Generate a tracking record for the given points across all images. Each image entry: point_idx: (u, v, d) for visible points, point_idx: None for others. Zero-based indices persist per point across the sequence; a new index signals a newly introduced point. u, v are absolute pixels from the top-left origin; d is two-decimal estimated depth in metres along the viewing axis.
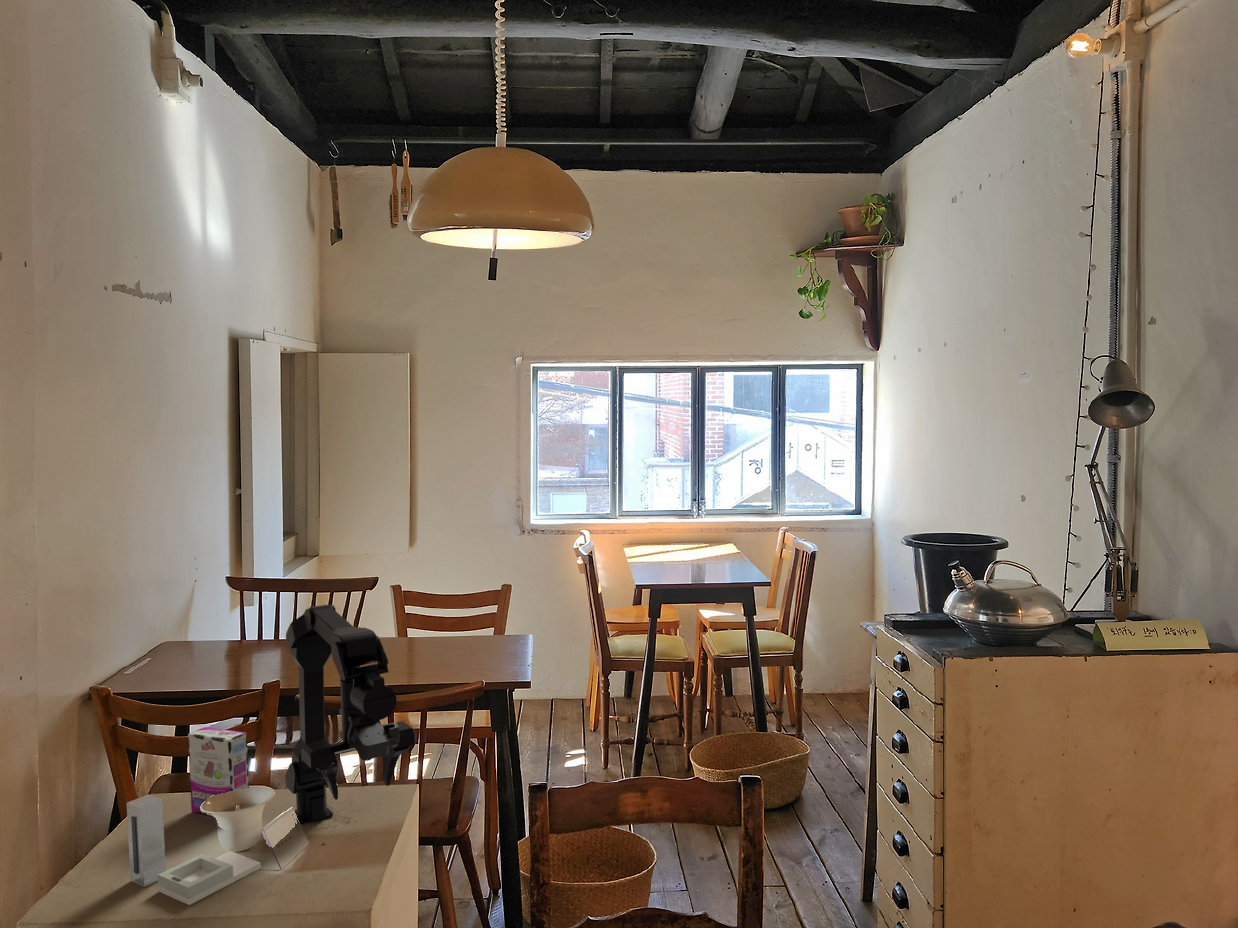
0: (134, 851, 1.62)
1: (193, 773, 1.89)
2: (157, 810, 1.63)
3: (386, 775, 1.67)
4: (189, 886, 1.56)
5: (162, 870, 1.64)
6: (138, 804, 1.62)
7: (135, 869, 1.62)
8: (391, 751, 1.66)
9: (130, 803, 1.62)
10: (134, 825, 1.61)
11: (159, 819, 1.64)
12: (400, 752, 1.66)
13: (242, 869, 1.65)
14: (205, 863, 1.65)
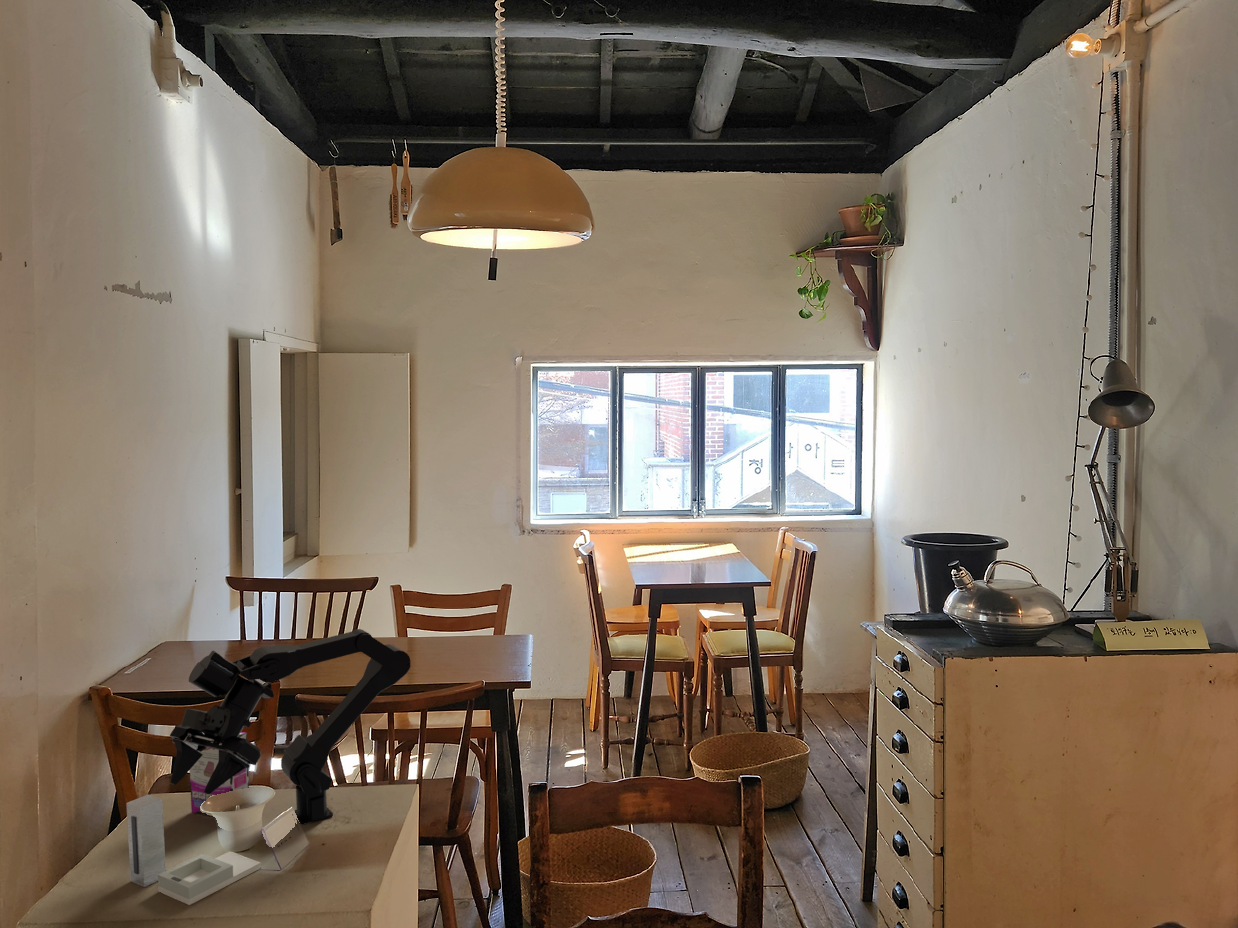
0: (134, 851, 1.62)
1: (193, 773, 1.89)
2: (157, 810, 1.63)
3: None
4: (189, 886, 1.56)
5: (162, 870, 1.64)
6: (137, 804, 1.62)
7: (135, 869, 1.62)
8: None
9: (130, 803, 1.62)
10: (134, 825, 1.61)
11: (158, 819, 1.64)
12: (223, 755, 1.68)
13: (242, 869, 1.65)
14: (205, 863, 1.65)
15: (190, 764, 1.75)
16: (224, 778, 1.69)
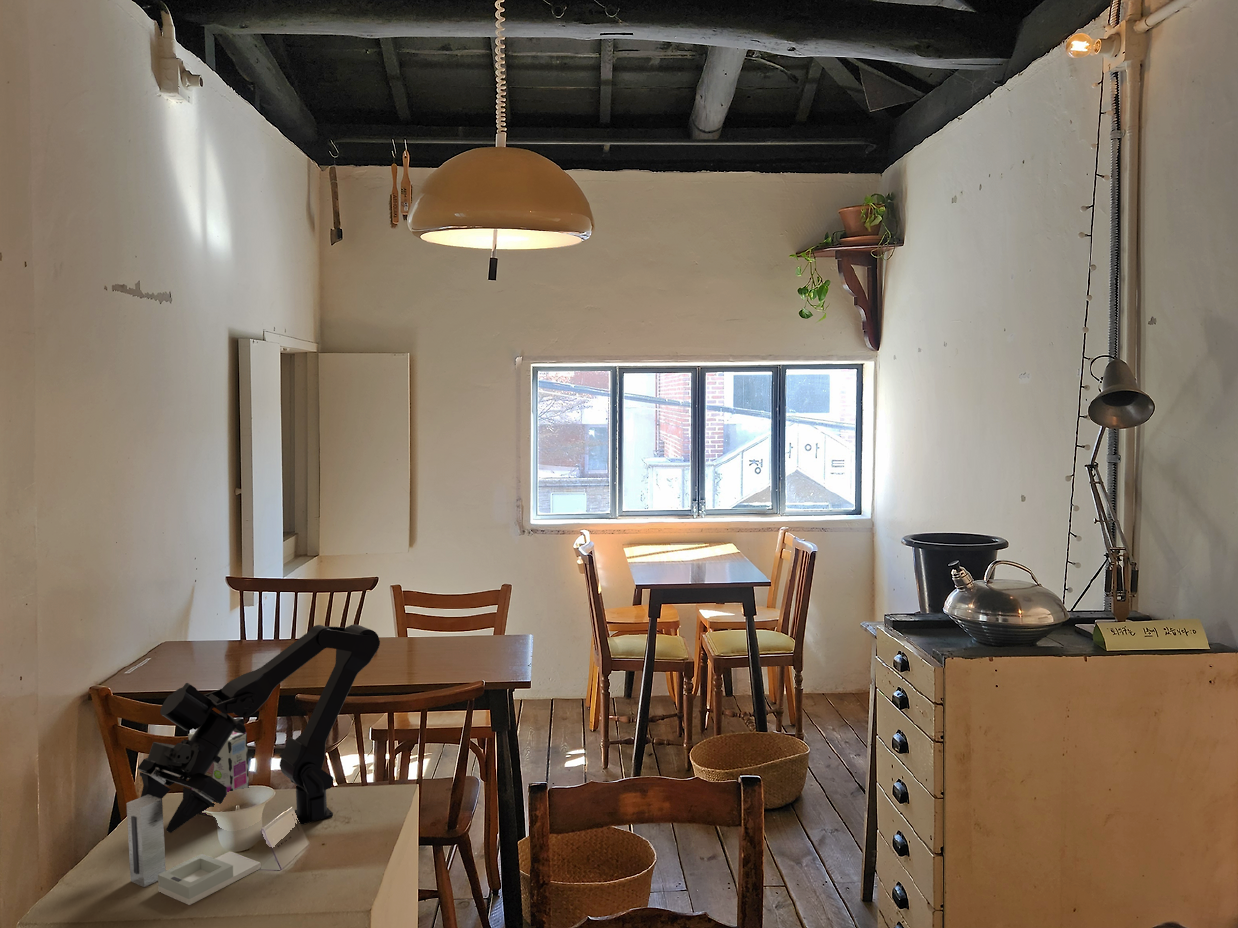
0: (134, 851, 1.62)
1: None
2: (157, 810, 1.63)
3: None
4: (189, 886, 1.56)
5: (162, 870, 1.64)
6: (137, 804, 1.62)
7: (135, 869, 1.62)
8: None
9: (130, 803, 1.62)
10: (134, 825, 1.61)
11: (158, 819, 1.64)
12: (187, 793, 1.63)
13: (242, 869, 1.65)
14: (205, 863, 1.65)
15: None
16: (188, 816, 1.64)
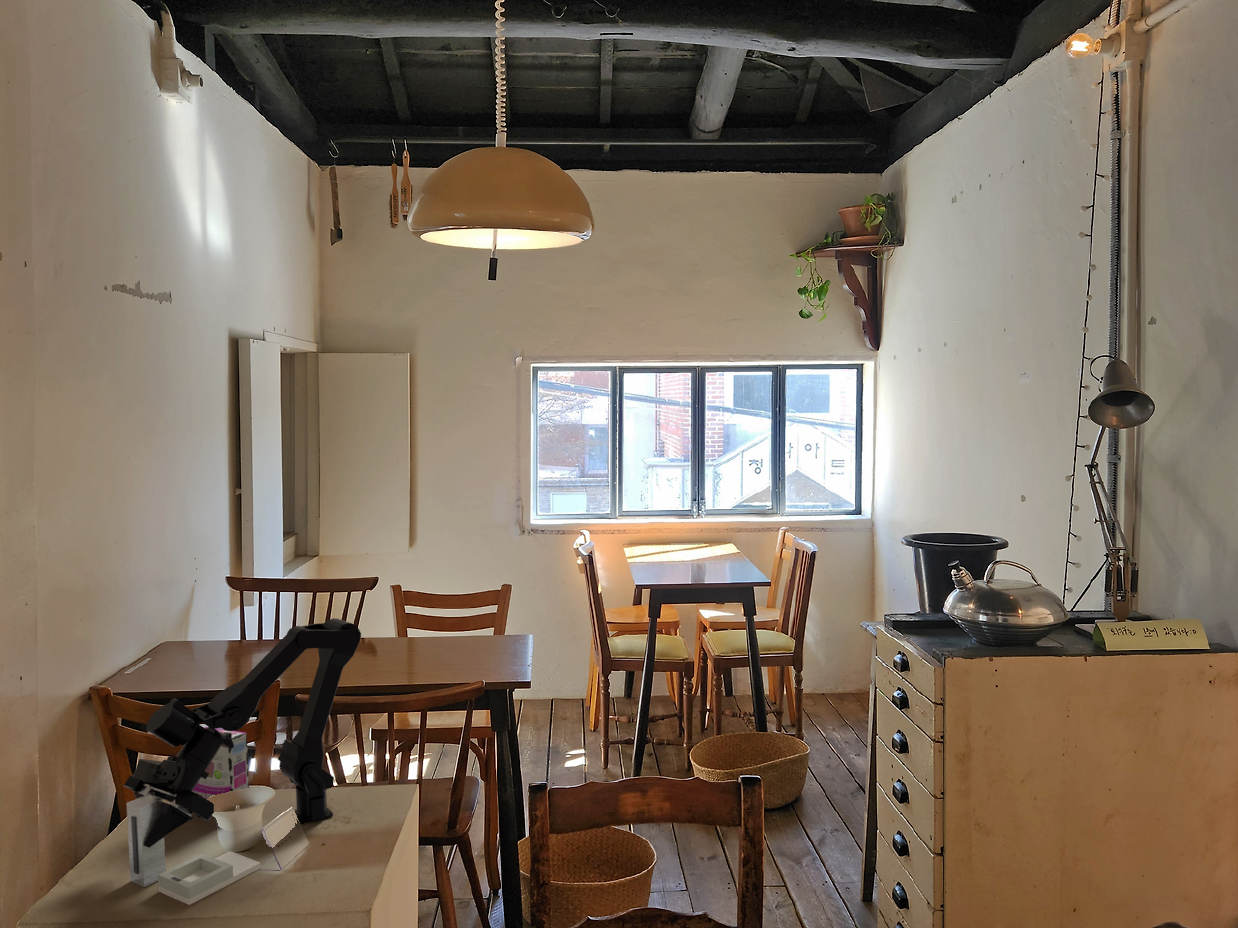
0: (134, 851, 1.62)
1: None
2: (157, 810, 1.63)
3: None
4: (189, 886, 1.56)
5: (162, 870, 1.64)
6: (137, 803, 1.62)
7: (135, 869, 1.62)
8: None
9: (130, 803, 1.62)
10: (134, 825, 1.61)
11: None
12: (165, 807, 1.62)
13: (242, 869, 1.65)
14: (205, 863, 1.65)
15: None
16: (166, 831, 1.63)
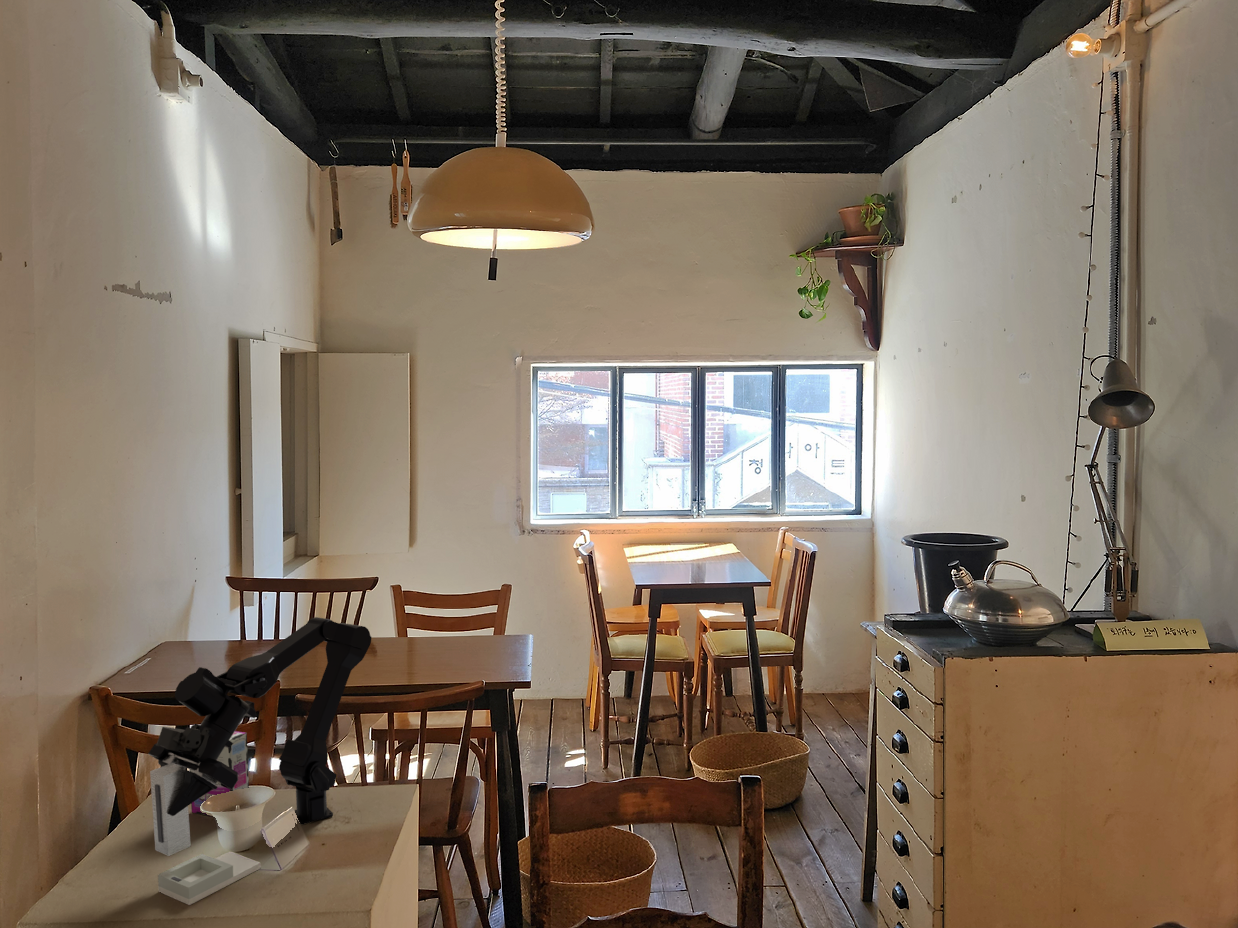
0: (158, 820, 1.60)
1: None
2: (180, 779, 1.61)
3: None
4: (189, 886, 1.56)
5: (186, 839, 1.63)
6: (161, 772, 1.60)
7: (159, 838, 1.61)
8: None
9: (153, 771, 1.61)
10: (158, 794, 1.60)
11: None
12: (188, 775, 1.60)
13: (242, 869, 1.65)
14: (205, 863, 1.65)
15: None
16: (190, 799, 1.61)
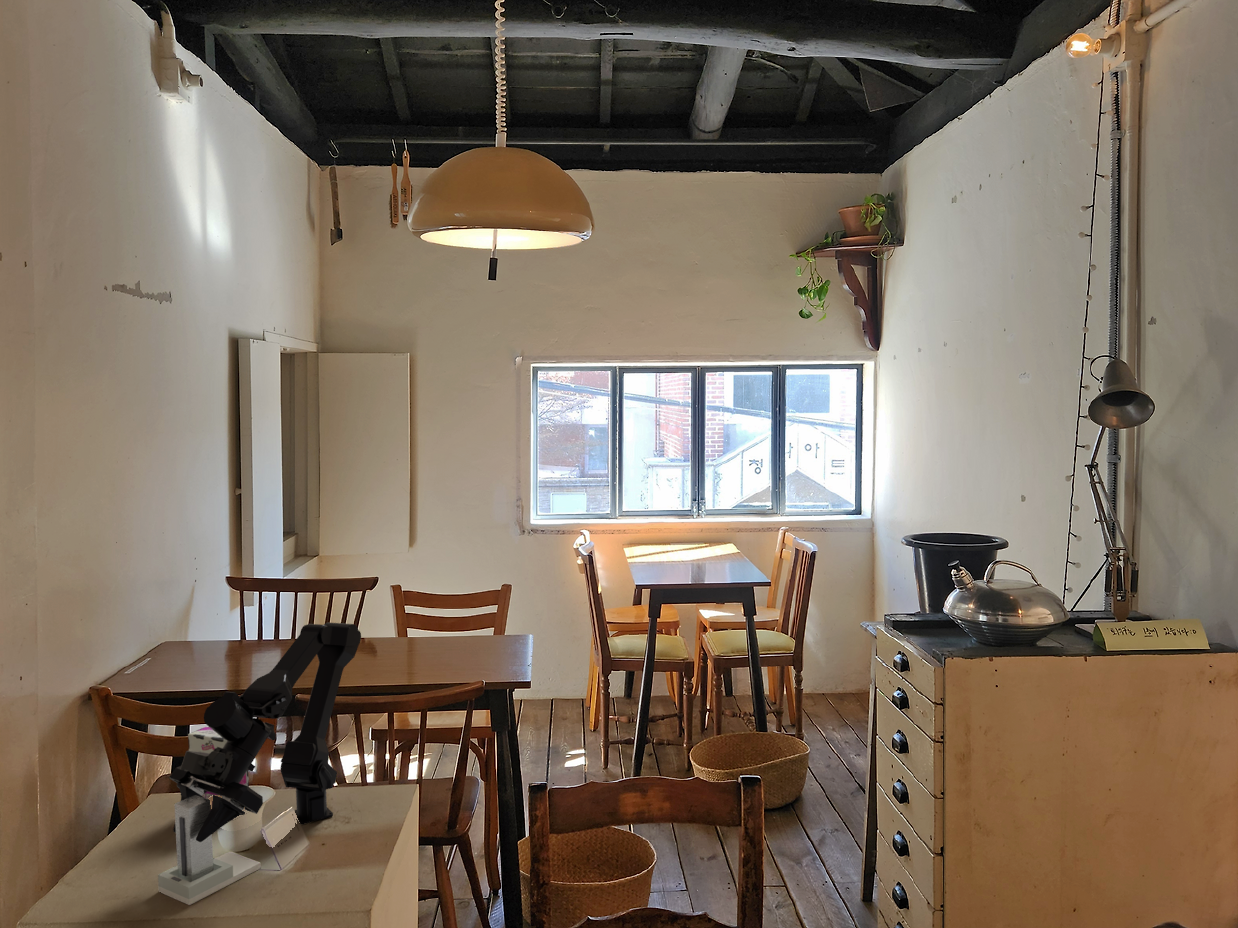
0: (182, 853, 1.59)
1: None
2: (205, 811, 1.60)
3: None
4: (189, 886, 1.56)
5: (210, 872, 1.61)
6: (186, 804, 1.59)
7: (183, 871, 1.59)
8: None
9: (178, 804, 1.59)
10: (182, 826, 1.59)
11: None
12: (216, 801, 1.59)
13: (242, 869, 1.65)
14: None
15: None
16: (218, 825, 1.60)
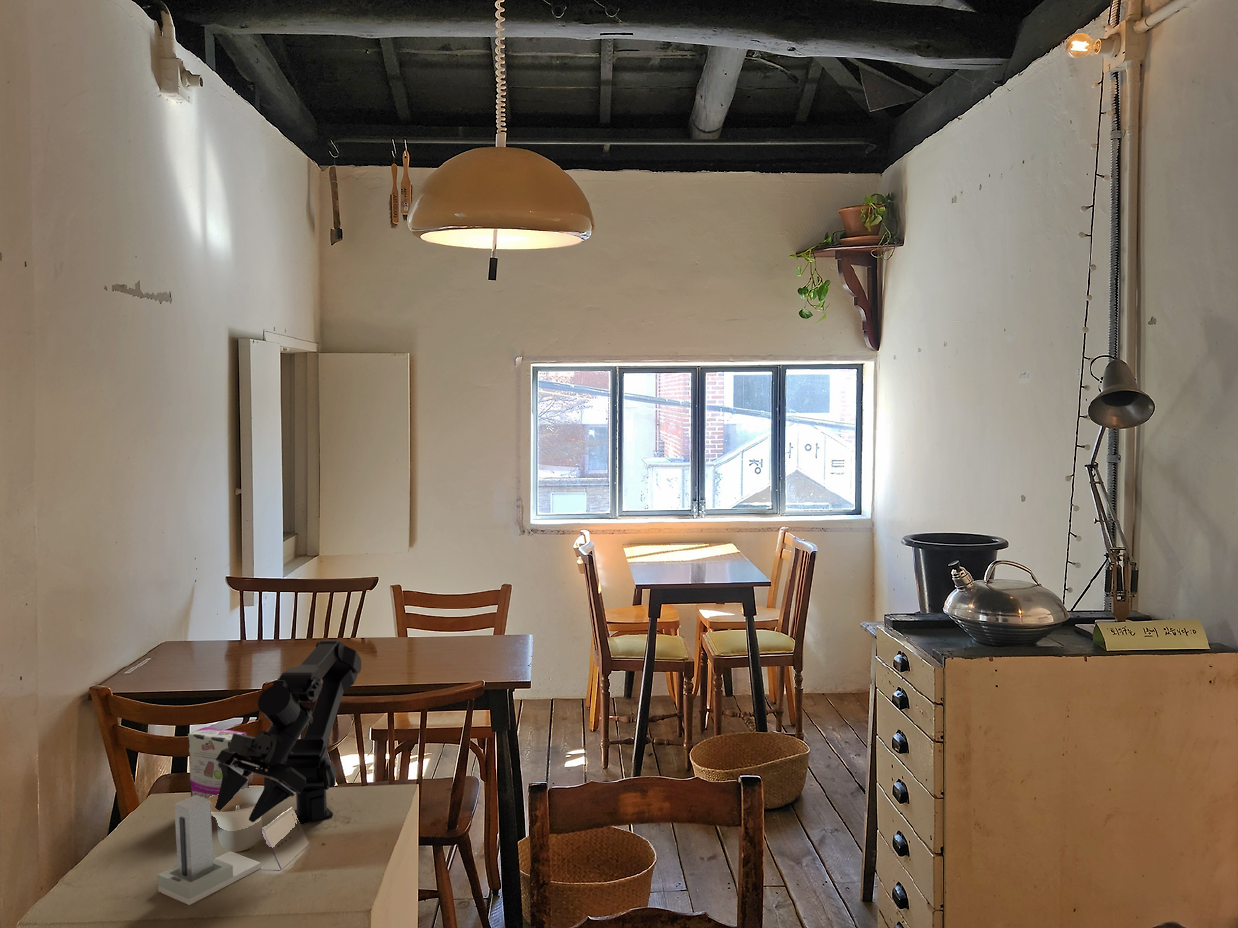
0: (182, 853, 1.59)
1: (193, 773, 1.89)
2: (205, 811, 1.60)
3: None
4: (189, 886, 1.56)
5: (210, 872, 1.61)
6: (186, 804, 1.59)
7: (183, 871, 1.59)
8: None
9: (178, 804, 1.59)
10: (182, 826, 1.59)
11: (207, 820, 1.61)
12: (268, 783, 1.66)
13: (242, 869, 1.65)
14: None
15: (235, 790, 1.73)
16: (269, 806, 1.67)
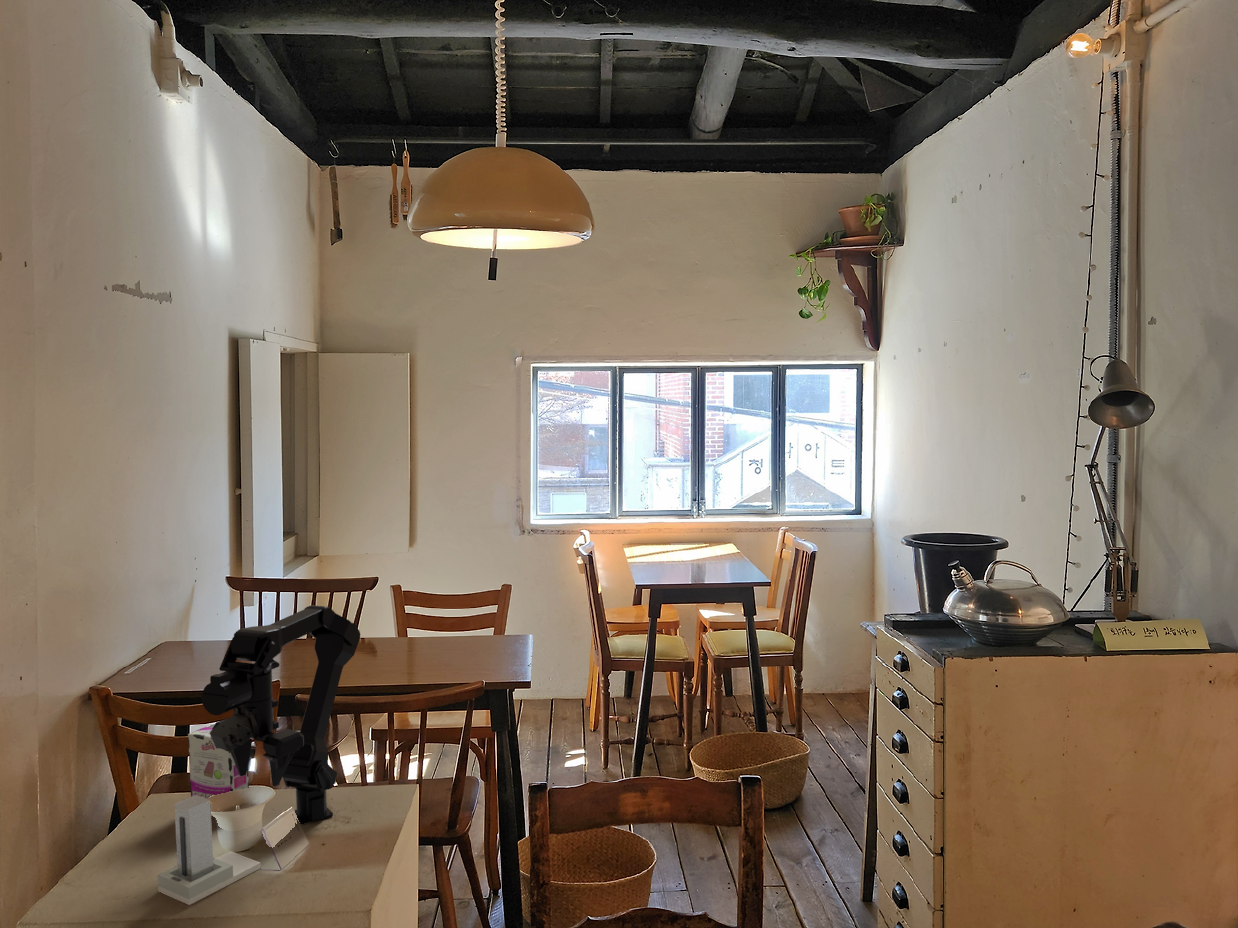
0: (182, 853, 1.59)
1: (193, 773, 1.89)
2: (205, 811, 1.60)
3: None
4: (189, 886, 1.56)
5: (210, 872, 1.61)
6: (186, 804, 1.59)
7: (183, 871, 1.59)
8: None
9: (178, 804, 1.59)
10: (182, 826, 1.59)
11: (207, 820, 1.61)
12: (269, 758, 1.68)
13: (242, 869, 1.65)
14: None
15: (247, 750, 1.77)
16: (284, 766, 1.71)
